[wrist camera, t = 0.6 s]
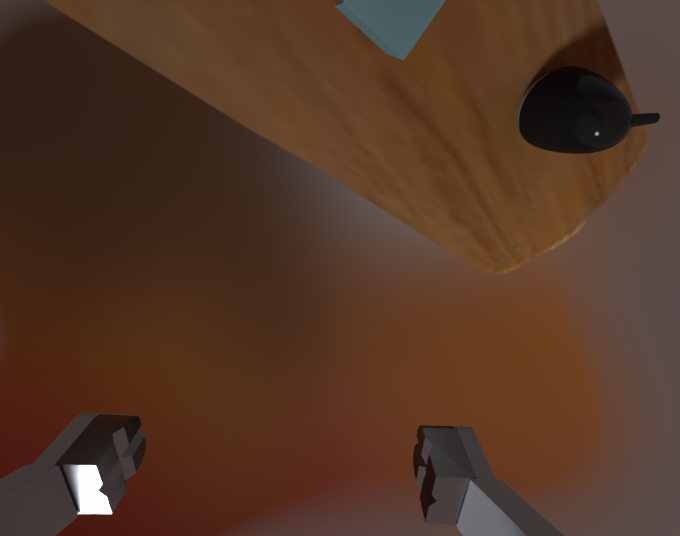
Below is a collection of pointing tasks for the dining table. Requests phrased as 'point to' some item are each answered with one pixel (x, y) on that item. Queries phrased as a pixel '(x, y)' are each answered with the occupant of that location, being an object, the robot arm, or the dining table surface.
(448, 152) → the dining table surface
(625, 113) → the black roly-poly toy
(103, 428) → the robot arm
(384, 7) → the long teal rectangular block
